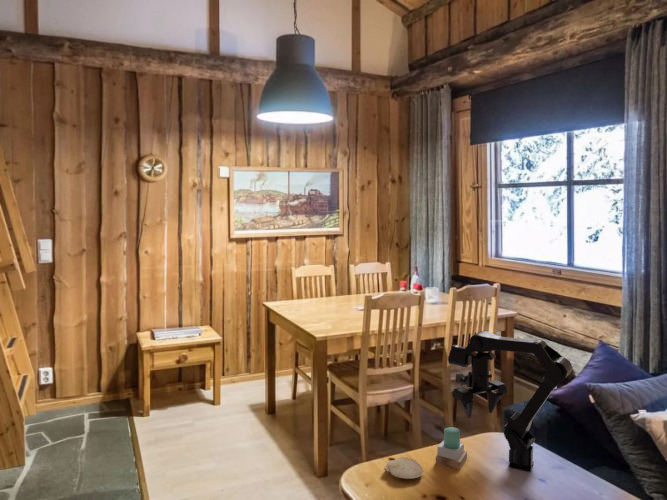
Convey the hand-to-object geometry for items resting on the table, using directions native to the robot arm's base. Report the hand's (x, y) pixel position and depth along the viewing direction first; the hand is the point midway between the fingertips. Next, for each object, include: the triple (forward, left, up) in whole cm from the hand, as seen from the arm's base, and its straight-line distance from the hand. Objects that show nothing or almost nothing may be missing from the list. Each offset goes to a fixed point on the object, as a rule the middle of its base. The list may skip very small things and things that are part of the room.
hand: (479, 415), depth 178 cm
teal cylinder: (+6, +10, -8) cm, 14 cm away
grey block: (+7, +10, -10) cm, 16 cm away
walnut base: (+6, +10, -14) cm, 18 cm away
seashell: (+17, +25, -13) cm, 33 cm away
